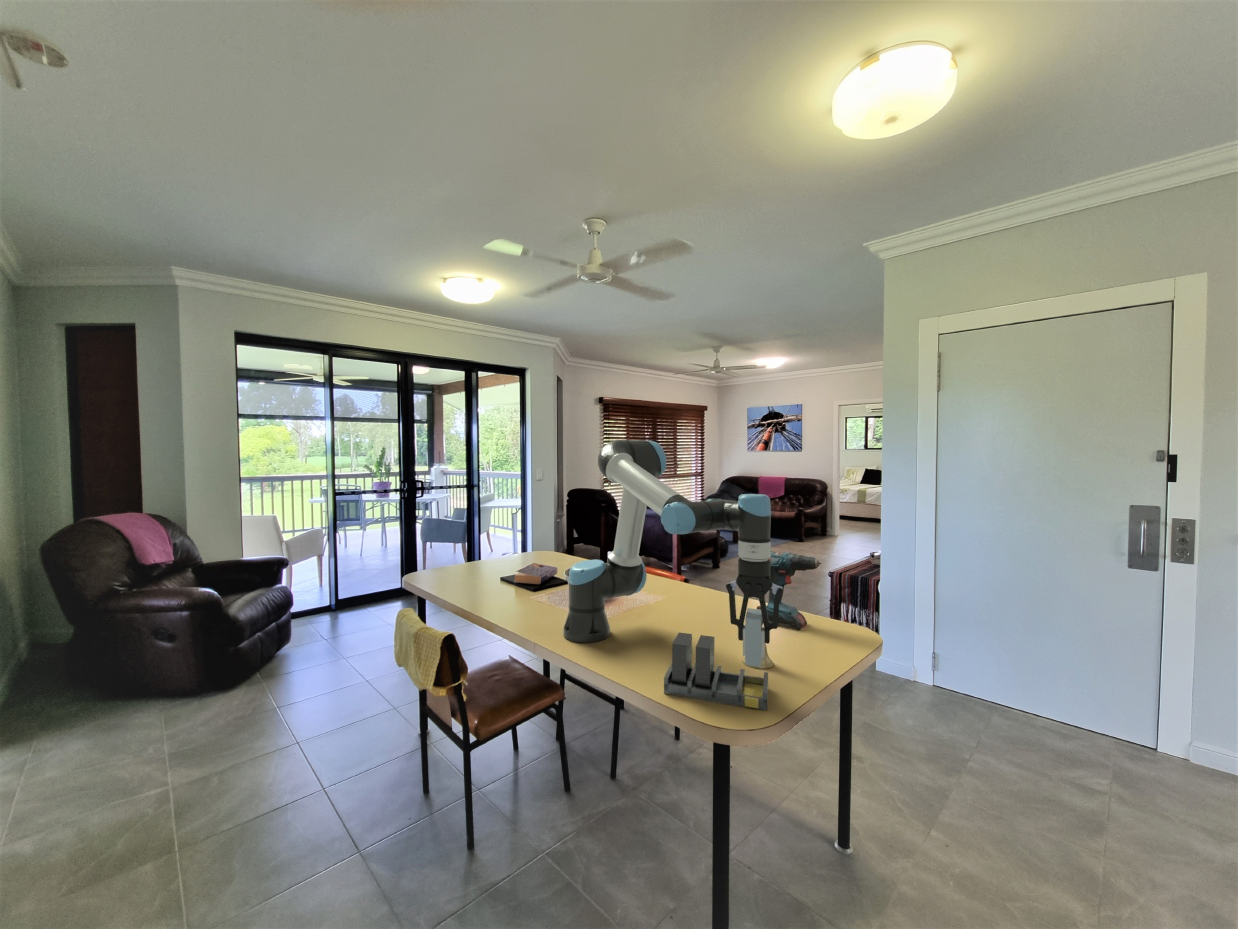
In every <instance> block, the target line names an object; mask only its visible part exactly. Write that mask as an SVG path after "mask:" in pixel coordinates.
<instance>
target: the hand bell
mask: <svg viewBox="0 0 1238 929" xmlns="http://www.w3.org/2000/svg"><path fill="white" fill-rule="evenodd" d="M756 609H760V610H761V607H760V605H757V606H756ZM762 626H764V624H763V618H762ZM767 647H768V646H767V643H765V657H764V658H761V667H757V666H750V665H747V666H748V667H750V668H754V669H758V670H760V669H762V670H763V669H764V670H765V669H770V668H772V667H773V666H774V662H773V660H772V659H771V658H770V656H769V652H768V648H767ZM742 663H743V664H744V665H745V656H743V659H742Z"/></svg>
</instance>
